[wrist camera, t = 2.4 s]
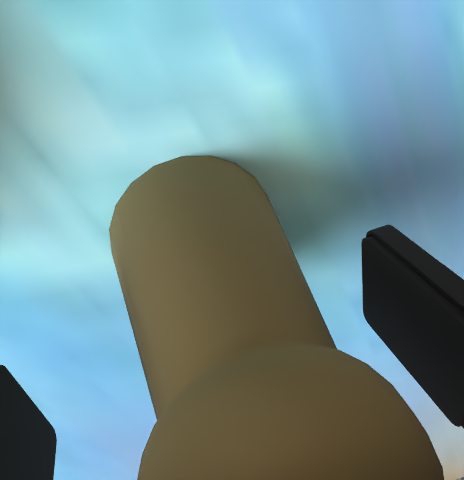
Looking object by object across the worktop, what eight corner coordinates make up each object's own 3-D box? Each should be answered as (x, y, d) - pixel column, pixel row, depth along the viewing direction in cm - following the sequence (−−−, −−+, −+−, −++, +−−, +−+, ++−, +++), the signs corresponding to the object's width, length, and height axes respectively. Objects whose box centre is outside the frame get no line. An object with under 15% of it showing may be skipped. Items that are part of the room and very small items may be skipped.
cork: (131, 315, 16) (159, 742, 7) (87, 173, 13) (27, 619, 4) (275, 280, 17) (471, 610, 8) (268, 140, 14) (588, 421, 5)
